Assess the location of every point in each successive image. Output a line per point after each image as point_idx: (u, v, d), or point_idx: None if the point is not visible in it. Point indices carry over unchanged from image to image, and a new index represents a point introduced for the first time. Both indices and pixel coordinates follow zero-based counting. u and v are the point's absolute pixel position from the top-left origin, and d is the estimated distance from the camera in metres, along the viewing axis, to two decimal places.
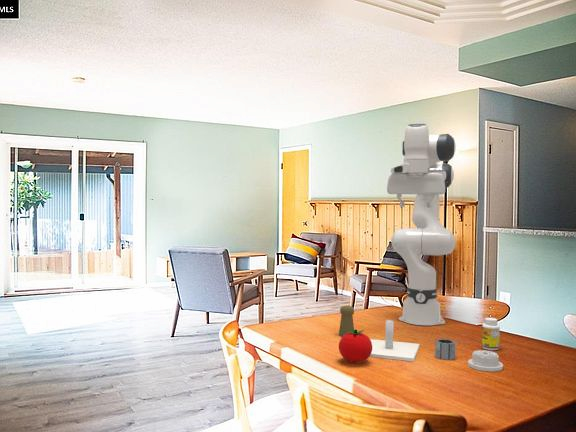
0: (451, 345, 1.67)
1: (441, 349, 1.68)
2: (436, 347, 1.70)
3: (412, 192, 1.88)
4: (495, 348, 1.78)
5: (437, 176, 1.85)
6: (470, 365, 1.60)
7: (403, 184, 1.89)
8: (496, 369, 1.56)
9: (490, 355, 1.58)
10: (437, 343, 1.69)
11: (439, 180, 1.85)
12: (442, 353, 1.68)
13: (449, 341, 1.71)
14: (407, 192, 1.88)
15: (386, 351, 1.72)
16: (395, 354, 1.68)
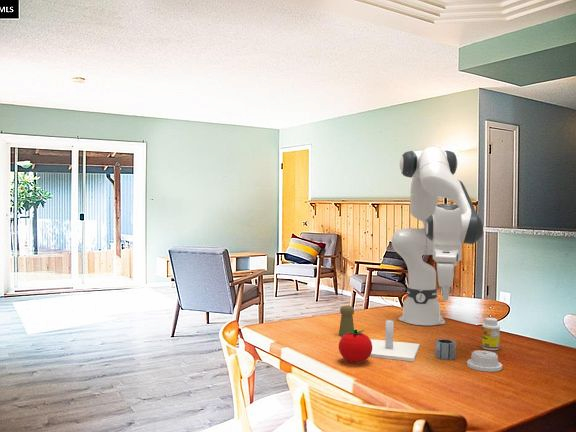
0: (451, 345, 1.67)
1: (441, 349, 1.68)
2: (436, 347, 1.70)
3: None
4: (495, 348, 1.78)
5: None
6: (469, 365, 1.59)
7: None
8: (495, 369, 1.56)
9: (489, 355, 1.58)
10: (437, 343, 1.69)
11: None
12: (442, 353, 1.68)
13: (449, 341, 1.71)
14: None
15: (386, 351, 1.72)
16: (395, 354, 1.68)
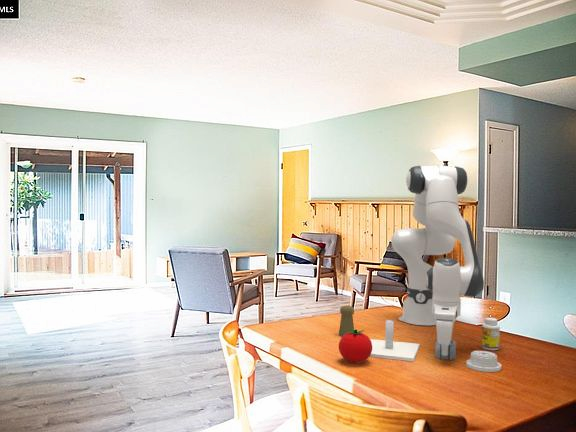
0: (451, 345, 1.67)
1: (441, 349, 1.68)
2: (436, 347, 1.70)
3: None
4: (495, 348, 1.78)
5: None
6: (468, 365, 1.59)
7: None
8: (494, 369, 1.55)
9: (488, 355, 1.58)
10: (437, 343, 1.69)
11: None
12: None
13: None
14: None
15: (386, 351, 1.72)
16: (395, 354, 1.68)
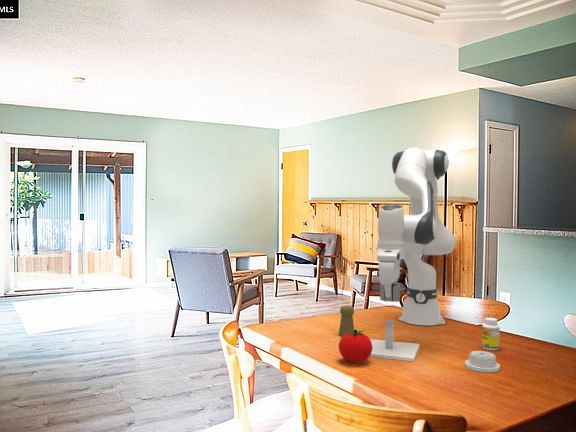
0: (395, 287, 1.73)
1: None
2: (381, 290, 1.75)
3: (395, 279, 1.74)
4: (495, 348, 1.78)
5: None
6: (467, 366, 1.59)
7: (394, 272, 1.71)
8: (493, 370, 1.55)
9: (487, 356, 1.57)
10: (382, 286, 1.74)
11: (399, 264, 1.82)
12: None
13: (394, 285, 1.77)
14: (394, 280, 1.72)
15: (386, 351, 1.72)
16: (395, 354, 1.68)
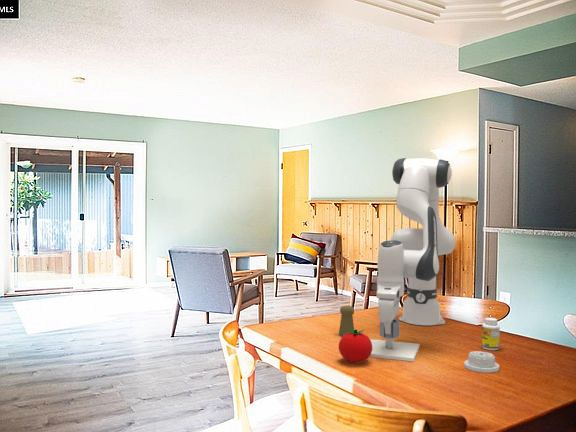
0: (394, 324, 1.73)
1: None
2: (380, 326, 1.75)
3: (395, 315, 1.74)
4: (495, 348, 1.78)
5: None
6: (466, 366, 1.58)
7: (393, 309, 1.71)
8: (492, 370, 1.55)
9: (486, 356, 1.57)
10: (381, 322, 1.75)
11: None
12: None
13: (394, 321, 1.77)
14: (394, 317, 1.73)
15: (386, 351, 1.72)
16: (395, 354, 1.68)
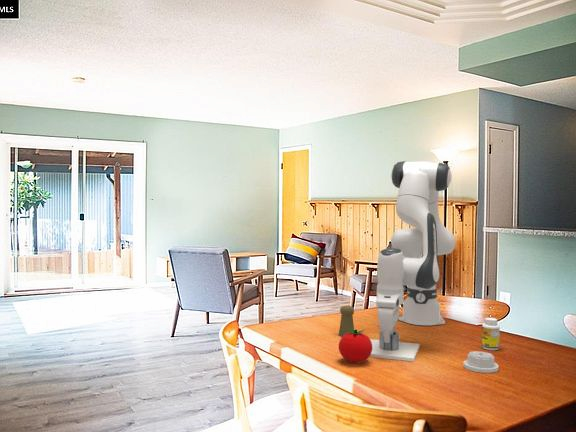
0: (394, 336, 1.73)
1: None
2: (380, 338, 1.76)
3: (394, 323, 1.75)
4: (495, 348, 1.78)
5: None
6: (466, 366, 1.58)
7: (393, 318, 1.71)
8: (492, 370, 1.55)
9: (486, 356, 1.57)
10: (381, 335, 1.75)
11: None
12: (385, 344, 1.74)
13: (393, 333, 1.78)
14: (393, 325, 1.73)
15: (386, 351, 1.72)
16: (395, 354, 1.68)
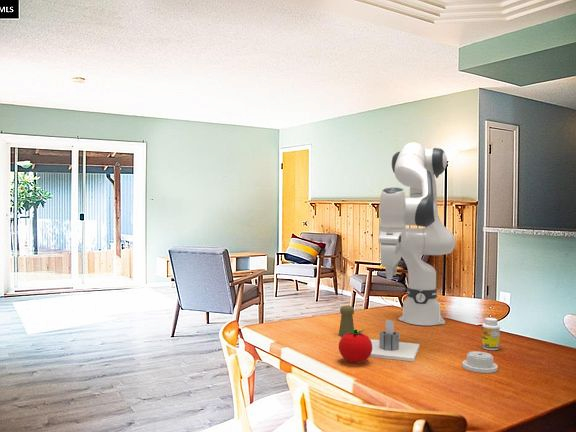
0: (394, 336, 1.73)
1: (384, 340, 1.74)
2: (380, 338, 1.76)
3: (396, 261, 1.76)
4: (495, 348, 1.78)
5: None
6: (465, 366, 1.58)
7: (395, 255, 1.73)
8: (491, 370, 1.55)
9: (485, 356, 1.57)
10: (381, 335, 1.75)
11: (400, 247, 1.84)
12: (385, 344, 1.74)
13: (393, 333, 1.78)
14: (396, 262, 1.74)
15: (386, 351, 1.72)
16: (395, 354, 1.68)
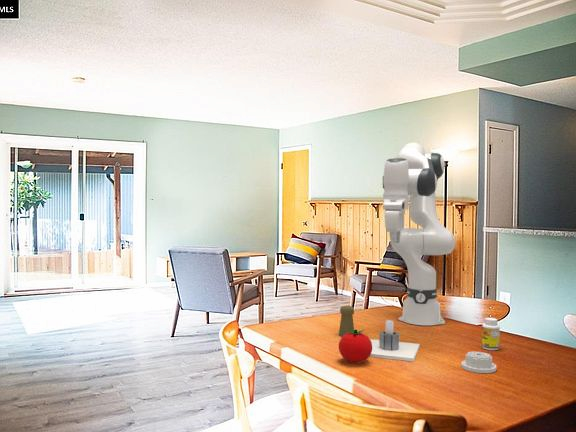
0: (394, 336, 1.73)
1: (384, 340, 1.74)
2: (380, 338, 1.76)
3: (400, 228, 1.83)
4: (495, 348, 1.78)
5: None
6: (463, 367, 1.58)
7: (399, 221, 1.80)
8: (490, 371, 1.54)
9: (484, 356, 1.57)
10: (381, 335, 1.75)
11: (403, 216, 1.92)
12: (385, 344, 1.74)
13: (393, 333, 1.78)
14: (399, 229, 1.81)
15: (386, 351, 1.72)
16: (395, 354, 1.68)
